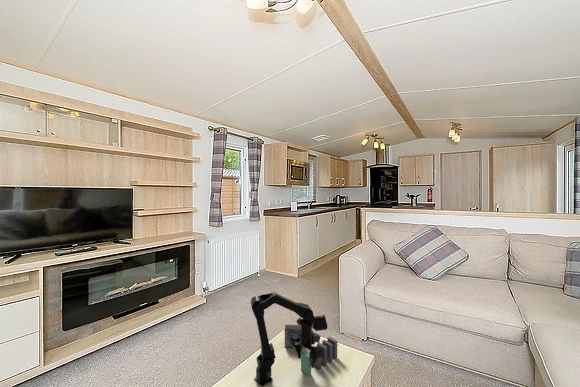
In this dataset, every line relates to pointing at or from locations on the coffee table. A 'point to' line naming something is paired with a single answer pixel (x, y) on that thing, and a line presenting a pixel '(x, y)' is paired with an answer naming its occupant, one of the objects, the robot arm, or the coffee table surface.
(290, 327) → the small box
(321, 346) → the tile
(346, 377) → the coffee table surface
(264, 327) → the robot arm
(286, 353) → the coffee table surface
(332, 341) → the tile
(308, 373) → the tile
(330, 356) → the tile
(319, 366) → the tile
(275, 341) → the coffee table surface
